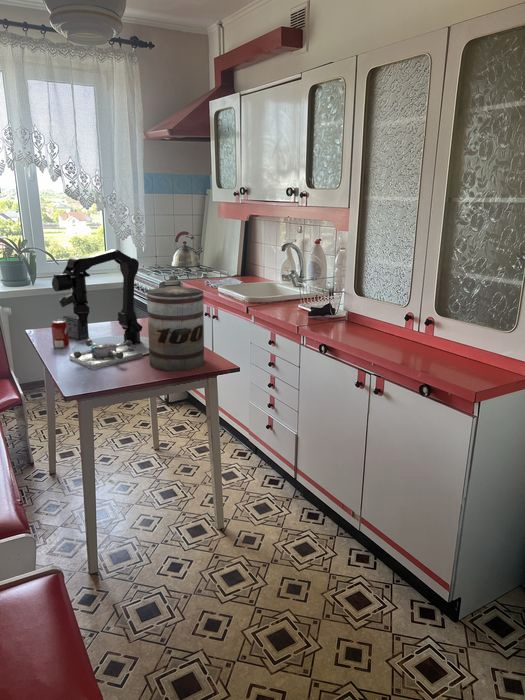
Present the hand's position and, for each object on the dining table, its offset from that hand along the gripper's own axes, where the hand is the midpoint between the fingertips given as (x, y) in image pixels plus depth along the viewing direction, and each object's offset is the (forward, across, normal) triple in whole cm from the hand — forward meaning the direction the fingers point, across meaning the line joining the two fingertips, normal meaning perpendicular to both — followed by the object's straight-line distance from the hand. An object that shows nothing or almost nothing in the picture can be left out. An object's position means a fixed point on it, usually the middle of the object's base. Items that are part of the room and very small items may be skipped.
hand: (82, 324), depth 226 cm
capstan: (+11, +10, +7) cm, 16 cm away
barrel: (+14, +23, +36) cm, 45 cm away
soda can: (+13, -13, -10) cm, 21 cm away
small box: (+14, -28, -3) cm, 31 cm away
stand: (+13, +9, +8) cm, 18 cm away
